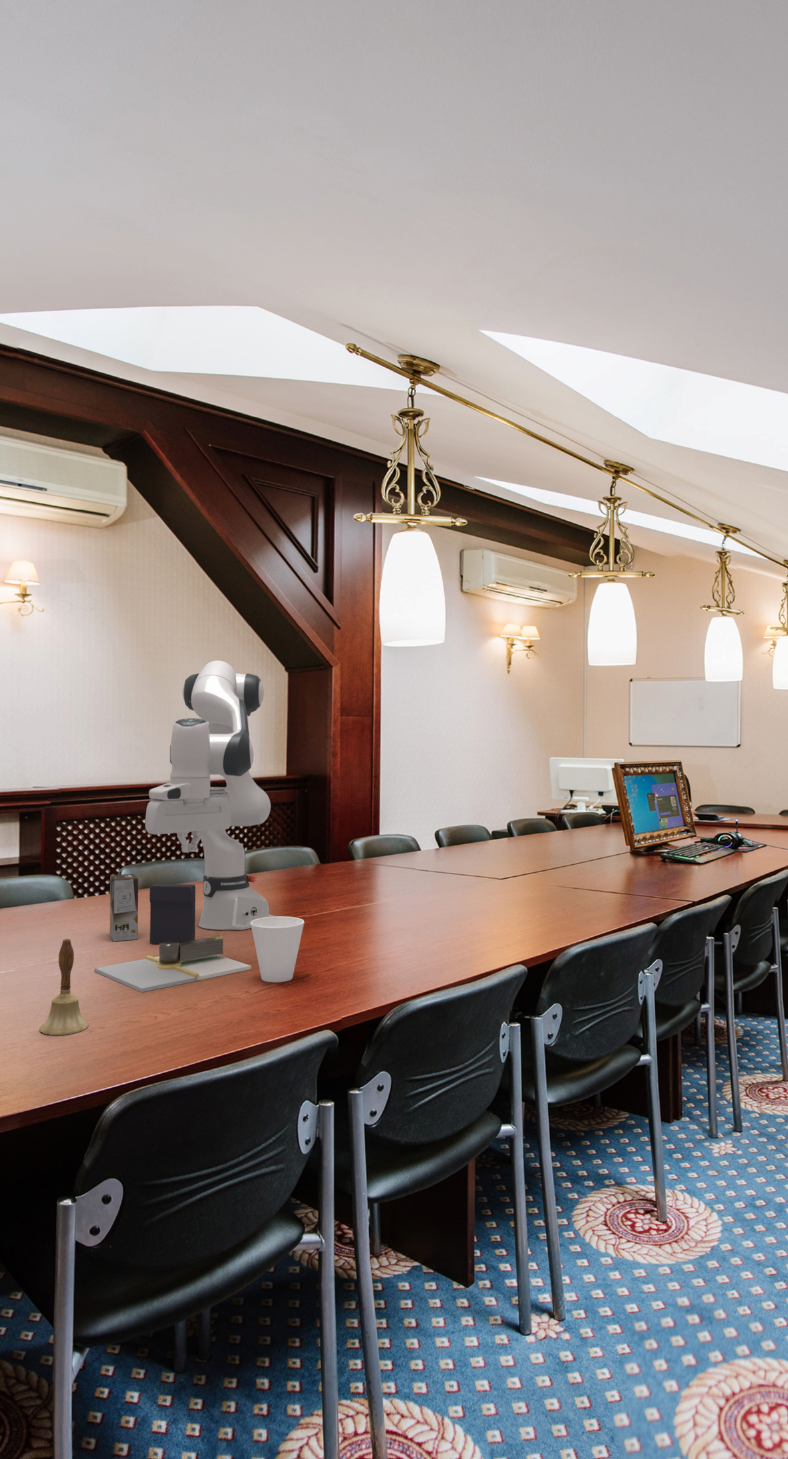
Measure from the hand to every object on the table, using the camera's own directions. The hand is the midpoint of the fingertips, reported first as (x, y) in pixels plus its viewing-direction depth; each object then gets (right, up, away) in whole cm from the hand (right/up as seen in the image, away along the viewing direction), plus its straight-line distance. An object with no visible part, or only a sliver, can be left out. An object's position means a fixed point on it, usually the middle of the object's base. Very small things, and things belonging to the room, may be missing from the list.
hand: (189, 851), depth 195 cm
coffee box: (-26, -28, +35) cm, 51 cm away
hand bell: (-14, -27, -38) cm, 49 cm away
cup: (+20, -27, -4) cm, 34 cm away
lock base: (-4, -27, +1) cm, 27 cm away
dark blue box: (-11, -28, +28) cm, 41 cm away
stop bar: (-1, -25, +5) cm, 26 cm away
